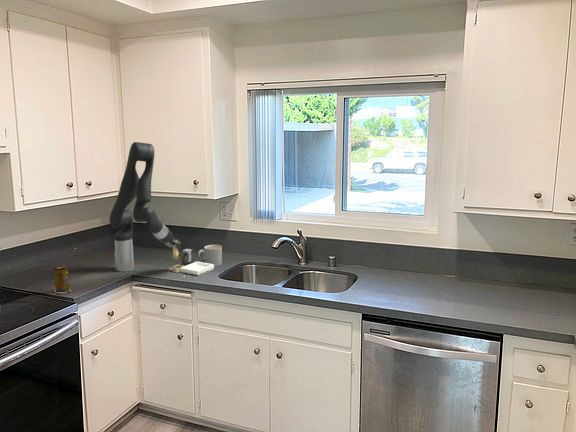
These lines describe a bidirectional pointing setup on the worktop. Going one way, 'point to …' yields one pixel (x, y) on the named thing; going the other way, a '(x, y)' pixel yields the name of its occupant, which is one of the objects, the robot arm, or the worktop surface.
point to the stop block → (175, 268)
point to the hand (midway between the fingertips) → (178, 249)
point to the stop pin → (175, 253)
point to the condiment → (61, 279)
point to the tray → (197, 268)
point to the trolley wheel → (187, 257)
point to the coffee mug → (212, 254)
